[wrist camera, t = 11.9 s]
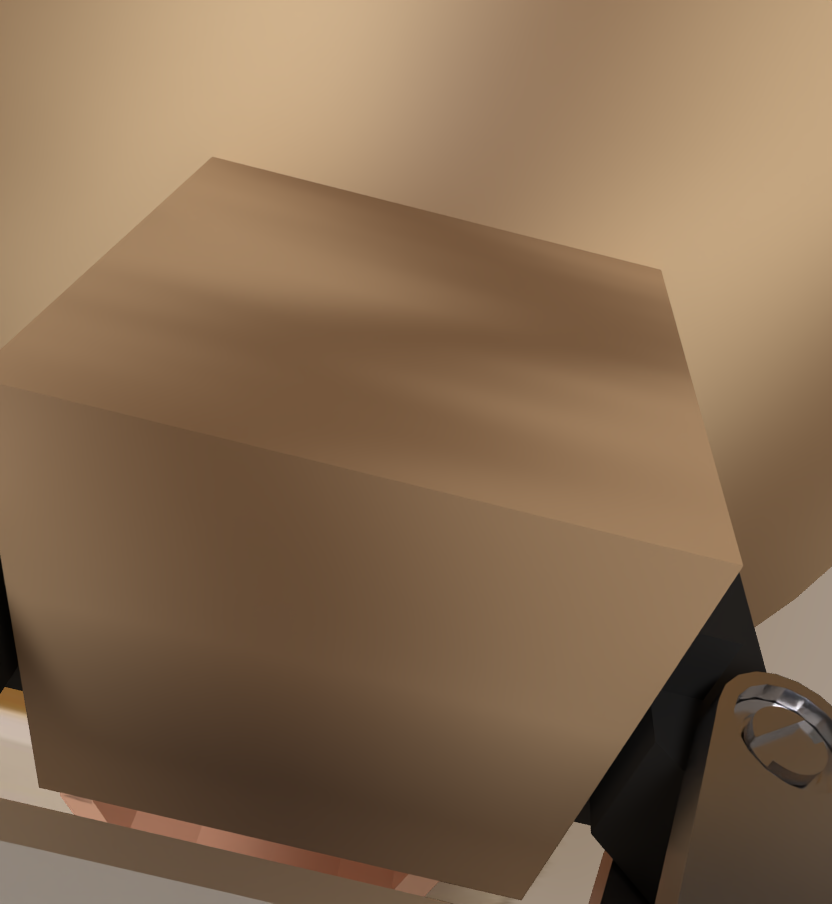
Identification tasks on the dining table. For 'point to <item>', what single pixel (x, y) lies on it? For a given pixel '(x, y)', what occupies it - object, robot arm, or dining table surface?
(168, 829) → the bowl
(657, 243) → the lid
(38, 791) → the dining table surface
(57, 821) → the robot arm
